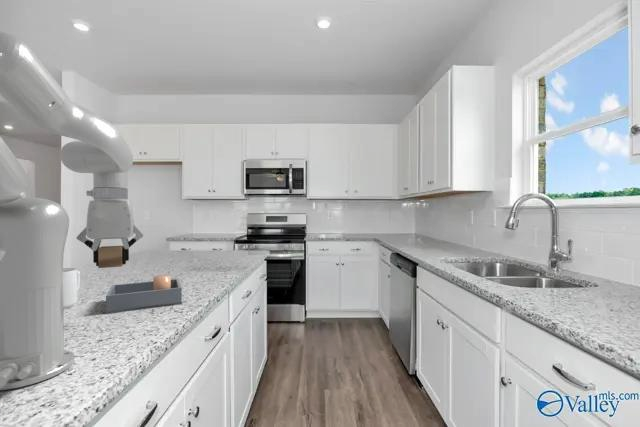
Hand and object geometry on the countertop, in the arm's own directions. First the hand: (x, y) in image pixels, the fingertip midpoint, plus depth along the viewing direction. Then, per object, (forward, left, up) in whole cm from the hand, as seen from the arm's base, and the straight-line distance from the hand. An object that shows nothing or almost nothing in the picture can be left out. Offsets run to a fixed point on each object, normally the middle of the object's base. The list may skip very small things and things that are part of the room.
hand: (111, 263), depth 83 cm
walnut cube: (0, 0, -1) cm, 1 cm away
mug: (+23, +15, -15) cm, 31 cm away
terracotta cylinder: (+15, -12, -15) cm, 24 cm away
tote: (+15, -8, -15) cm, 23 cm away
